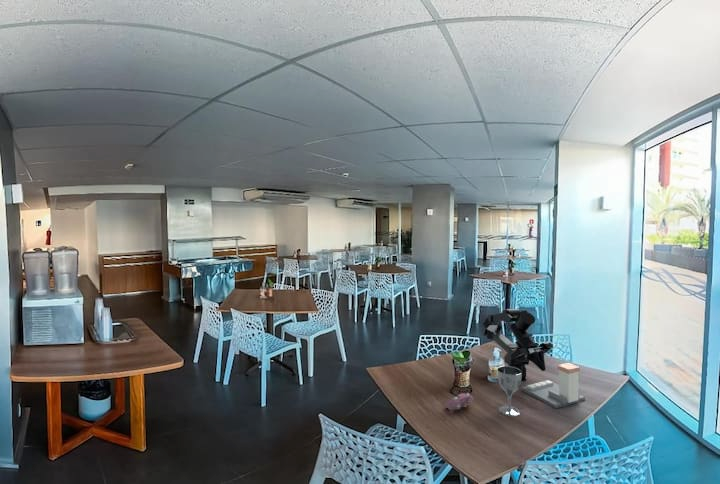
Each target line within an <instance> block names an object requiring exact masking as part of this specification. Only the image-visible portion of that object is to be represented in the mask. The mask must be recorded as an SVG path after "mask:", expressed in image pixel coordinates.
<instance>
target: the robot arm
mask: <svg viewBox="0 0 720 484" xmlns="http://www.w3.org/2000/svg"><path fill="white" fill-rule="evenodd" d="M501 322H505V323H511V324H508V329H507V331H508V332H511V333H512V334H513V336H514V338H515V339H516V341H515V343H514V342H513V341H511V339H509V338H508V337H506V336H505V335H504V334H503V333H502V328H503V327H502V325H501ZM535 322H536V318H535V316H534V315H533V314H532V313H530V312H528V311H527V309H523V310H521V309H520V308H506V309H504V310H502V311H501V312H499V313H491V314H488V316H487V319H485V320H484V322H483V323H482V326H481V335H482V336H483V338H485V339H487V340H493V341H494V342H495V343H496V344H497V345H498V346H499V347H500V348H501V349H503V350H504V351H505V353H506V354H505V355H504V356H503V360H504V363H505V364H507V366H511V367H515V368H518V369H520V370H521V381H527V368H526V365H527V366H528V365H529V363H530V362H531V363H533V364H534V365H535V366H536V367H537V368H539V369H540V370H541V371H542V372H545V371H547V369H546V368H547V367H546V361H545V354H546V353H548V352H549V351H551V350H552V349H553V348H554V345H553V344H552V342H550V341H545V342H542V343H541V344H539V343H538V342H535V340H534V339H533V337H534V335H533V333H530V332H529V331H528V330H530V328H531V327H532V326H533V325H534V323H535ZM493 323H497V324H493Z"/></svg>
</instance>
